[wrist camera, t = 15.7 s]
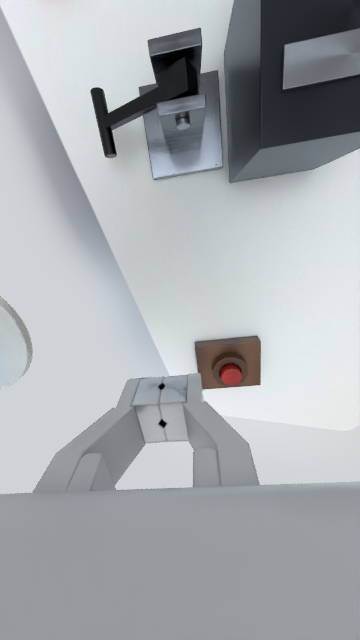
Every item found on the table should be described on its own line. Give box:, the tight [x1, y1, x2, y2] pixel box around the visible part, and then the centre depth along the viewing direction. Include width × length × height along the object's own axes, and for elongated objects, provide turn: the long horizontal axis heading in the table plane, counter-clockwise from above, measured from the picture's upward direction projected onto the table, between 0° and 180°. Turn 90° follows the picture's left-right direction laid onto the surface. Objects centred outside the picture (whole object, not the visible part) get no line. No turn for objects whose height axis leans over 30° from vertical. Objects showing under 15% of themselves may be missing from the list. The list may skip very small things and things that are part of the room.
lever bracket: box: [139, 28, 223, 180], centre depth 25 cm, size 10×10×13 cm
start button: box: [221, 364, 242, 385], centre depth 41 cm, size 4×4×2 cm
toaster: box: [224, 0, 360, 183], centre depth 22 cm, size 12×14×16 cm
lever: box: [91, 57, 199, 158], centre depth 23 cm, size 12×6×2 cm, turn 98°
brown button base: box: [195, 336, 261, 389], centre depth 43 cm, size 12×10×4 cm
